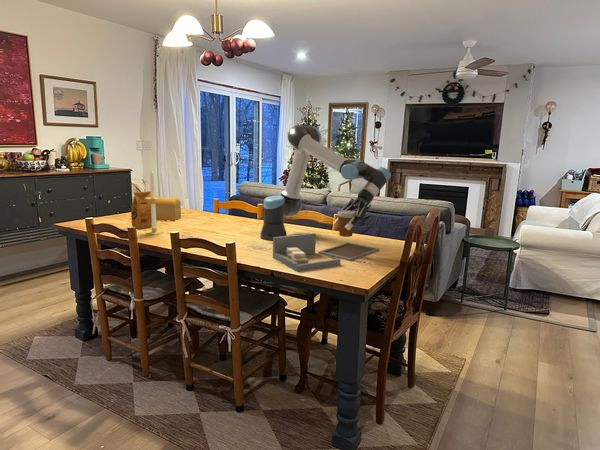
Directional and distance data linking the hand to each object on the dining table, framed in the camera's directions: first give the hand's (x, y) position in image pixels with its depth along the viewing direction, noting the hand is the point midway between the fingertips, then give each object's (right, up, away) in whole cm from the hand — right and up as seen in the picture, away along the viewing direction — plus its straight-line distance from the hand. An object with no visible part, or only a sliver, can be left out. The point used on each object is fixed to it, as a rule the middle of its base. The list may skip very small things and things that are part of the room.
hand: (340, 226), depth 205 cm
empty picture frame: (+4, -14, +7) cm, 16 cm away
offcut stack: (-22, -17, -13) cm, 31 cm away
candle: (-105, -4, +38) cm, 112 cm away
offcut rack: (-17, -16, -11) cm, 26 cm away
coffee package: (-117, 0, +52) cm, 128 cm away
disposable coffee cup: (+3, -5, +3) cm, 6 cm away
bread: (-115, +5, +78) cm, 139 cm away
